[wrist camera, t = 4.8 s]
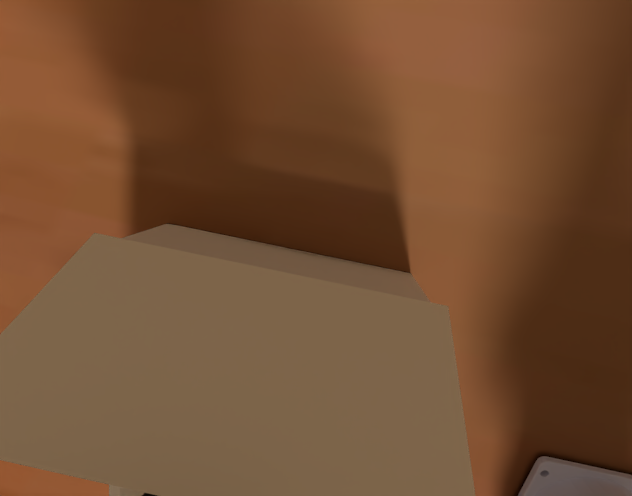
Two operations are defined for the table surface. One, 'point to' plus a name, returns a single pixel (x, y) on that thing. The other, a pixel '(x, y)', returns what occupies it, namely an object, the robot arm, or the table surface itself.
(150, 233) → the carton
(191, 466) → the carton flap
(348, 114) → the table surface
